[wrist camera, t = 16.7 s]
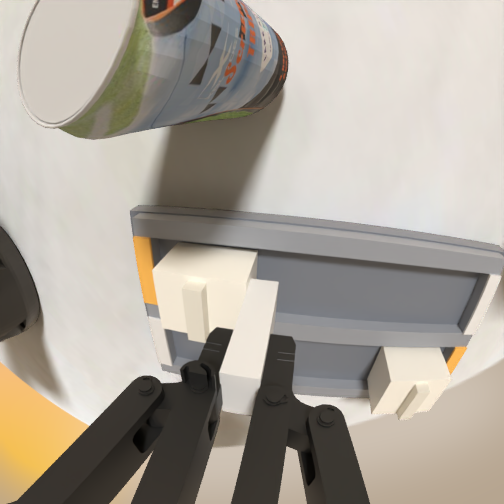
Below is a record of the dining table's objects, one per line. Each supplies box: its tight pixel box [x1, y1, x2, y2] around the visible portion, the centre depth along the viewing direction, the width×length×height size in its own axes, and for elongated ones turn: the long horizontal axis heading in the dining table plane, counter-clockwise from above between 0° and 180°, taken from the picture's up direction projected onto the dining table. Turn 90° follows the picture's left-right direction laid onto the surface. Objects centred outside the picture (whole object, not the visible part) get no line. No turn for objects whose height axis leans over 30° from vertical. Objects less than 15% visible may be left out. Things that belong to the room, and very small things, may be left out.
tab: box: [367, 346, 452, 420], centre depth 17 cm, size 5×4×4 cm
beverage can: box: [17, 0, 288, 140], centre depth 9 cm, size 6×7×12 cm
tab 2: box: [152, 242, 258, 343], centre depth 16 cm, size 5×4×4 cm
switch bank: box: [130, 205, 504, 398], centre depth 19 cm, size 26×14×2 cm, turn 88°
